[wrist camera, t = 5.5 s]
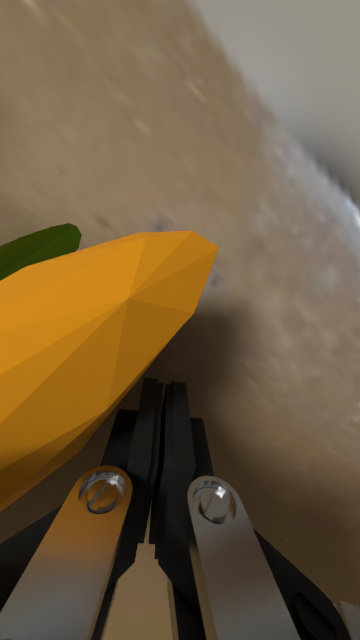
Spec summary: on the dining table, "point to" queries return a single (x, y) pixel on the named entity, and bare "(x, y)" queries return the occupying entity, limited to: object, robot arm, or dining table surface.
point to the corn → (83, 336)
